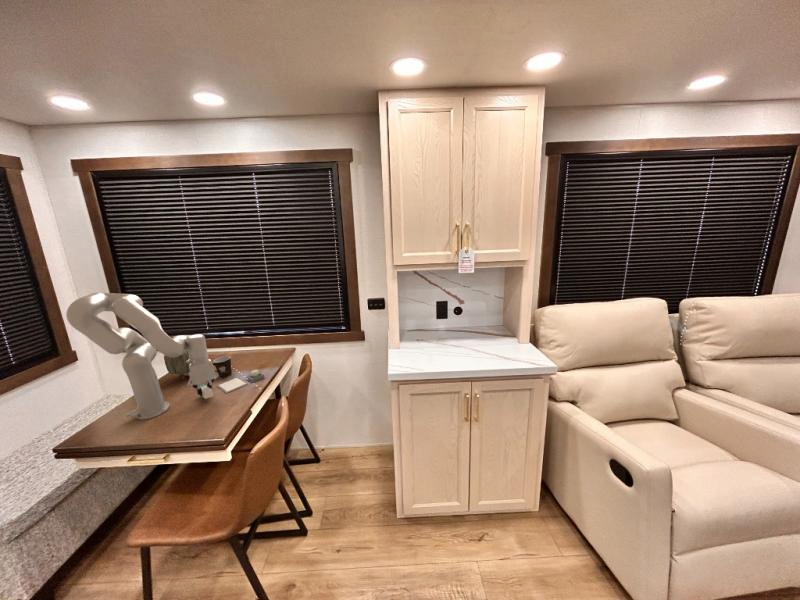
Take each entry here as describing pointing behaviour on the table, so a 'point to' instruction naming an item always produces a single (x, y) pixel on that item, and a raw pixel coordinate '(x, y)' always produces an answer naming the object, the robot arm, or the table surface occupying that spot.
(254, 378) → the button housing
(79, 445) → the table surface
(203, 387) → the white and teal box
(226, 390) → the cream flat slab
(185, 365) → the olive green backpack
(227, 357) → the coffee mug
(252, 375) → the button
